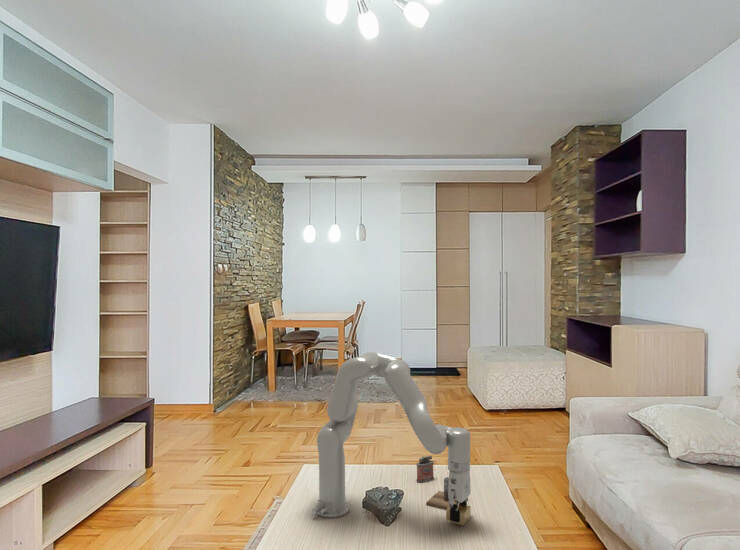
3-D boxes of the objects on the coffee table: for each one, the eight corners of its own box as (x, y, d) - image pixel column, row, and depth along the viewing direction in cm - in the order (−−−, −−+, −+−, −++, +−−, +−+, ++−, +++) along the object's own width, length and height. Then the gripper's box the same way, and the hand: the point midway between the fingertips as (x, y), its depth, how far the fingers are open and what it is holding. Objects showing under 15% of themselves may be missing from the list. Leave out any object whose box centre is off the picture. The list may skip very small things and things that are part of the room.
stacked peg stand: (456, 512, 179) (456, 486, 179) (426, 505, 185) (425, 479, 185) (467, 500, 189) (467, 475, 189) (438, 493, 195) (438, 469, 195)
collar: (463, 525, 166) (464, 513, 166) (446, 520, 170) (446, 508, 170) (470, 517, 172) (470, 506, 172) (453, 513, 175) (453, 501, 175)
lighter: (419, 483, 205) (419, 459, 205) (415, 480, 208) (414, 457, 208) (435, 480, 208) (435, 456, 209) (430, 477, 211) (430, 453, 212)
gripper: (460, 475, 162) (459, 530, 161) (477, 459, 176) (477, 510, 176) (438, 470, 166) (438, 524, 165) (457, 455, 180) (457, 504, 180)
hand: (458, 516), depth 171 cm, fingers closed on collar, 6 cm apart
